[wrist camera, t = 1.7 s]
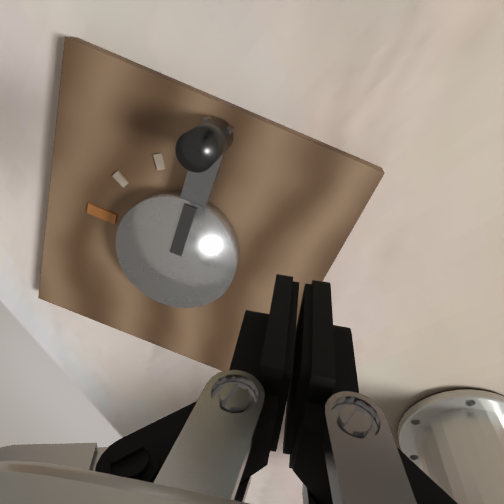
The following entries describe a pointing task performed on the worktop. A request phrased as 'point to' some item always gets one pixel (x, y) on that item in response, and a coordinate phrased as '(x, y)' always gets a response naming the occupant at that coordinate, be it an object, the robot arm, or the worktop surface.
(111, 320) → the board
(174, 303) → the dial
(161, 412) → the worktop surface
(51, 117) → the worktop surface
